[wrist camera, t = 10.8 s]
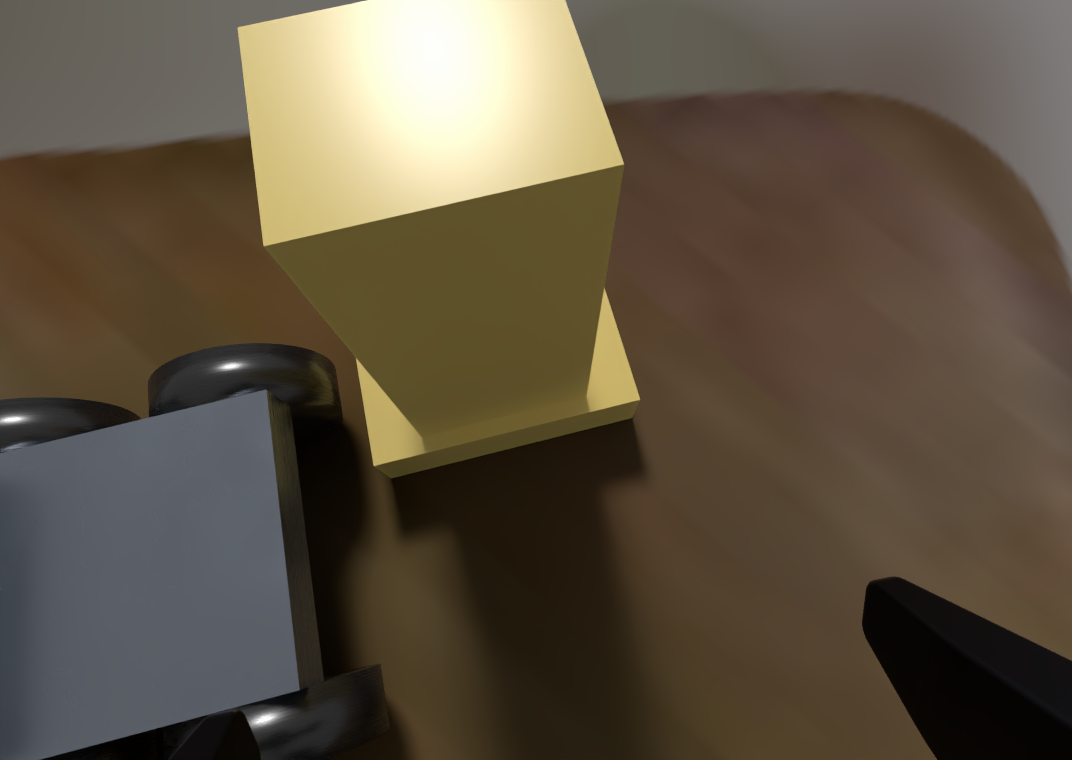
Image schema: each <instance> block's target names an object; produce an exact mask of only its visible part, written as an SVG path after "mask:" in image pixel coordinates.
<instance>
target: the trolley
mask: <svg viewBox="0 0 1072 760" xmlns="http://www.w3.org/2000/svg"><path fill="white" fill-rule="evenodd" d="M148 401H149V418H145V419H141V418H140V417H139V416H137V415H136V414H135V413H133V412H131V411H129V410H127V409H124V408H121V407H118V406H115V405H111V404H106V403H102V402H96V401H89V400H81V399H70V398H17V399H4V400H0V760H157V752H156V728H160V727H163V747H164V760H169V758H170V757H171V756H172V755H173V754H174V753H175V752H176V750H177V749H178V748H179V747H180V746H181V745H182V744H183V742H184V741H185V740H186V739H187V738H188V737H189V735H190V734H191V733H192V732H193V731H194V730H195V729H196V727H197V726H198V725H199V724H200V723H201V722H202V721H203V720H204V719H205V718H206V717H207V716H209V715H211V714H213V713H218V712H223V711H228V710H233V709H239V710H241V711H242V712H243V713H244V714H245V716H246V718H247V721H248V723H249V725H250V727H251V730H252V732H253V734H254V737H255V739H256V741H257V743H258V746H259V749H260V753H261V760H325V759H328V758H330V757H333V756H335V755H338V754H340V753H343V752H345V751H348V750H350V749H353V748H355V747H357V746H360V745H362V744H364V743H366V742H368V741H370V740H372V739H374V738H376V737H378V736H380V735H381V734H383V733H385V732H386V731H387V730H388V729H389V728H390V724H389V717H388V711H387V704H386V697H385V691H384V684H383V678H382V671H381V664H376V665H371V666H367V667H362V668H358V669H354V670H350V671H346V672H342V673H338V674H334V675H331V676H327V677H324V676H323V668H322V660H321V652H320V644H319V636H318V628H317V620H316V611H315V603H314V595H313V587H312V579H311V571H310V563H309V554H308V546H307V538H306V530H305V522H304V514H303V506H302V498H301V489H300V481H299V473H298V465H297V457H296V449H295V447H297V446H300V445H303V444H306V443H309V442H312V441H314V440H317V439H319V438H321V437H323V436H325V435H327V434H329V433H330V432H332V431H333V430H334V429H336V428H337V427H338V426H339V424H340V423H341V421H342V419H343V414H342V407H341V401H340V394H339V388H338V381H337V375H336V369H335V366H334V364H333V363H332V362H331V361H330V360H329V359H328V358H327V357H325V356H323V355H321V354H319V353H317V352H315V351H312V350H308V349H305V348H301V347H296V346H290V345H282V344H266V343H252V344H236V345H226V346H220V347H213V348H209V349H204V350H200V351H196V352H192V353H189V354H186V355H183V356H180V357H178V358H176V359H173V360H171V361H169V362H167V363H165V364H164V365H162V366H161V367H159V368H158V369H157V370H155V372H154V373H153V374H152V375H151V376H150V378H149V380H148Z"/></svg>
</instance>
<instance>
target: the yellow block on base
mask: <svg viewBox="0 0 1072 760" xmlns="http://www.w3.org/2000/svg"><path fill="white" fill-rule="evenodd" d="M238 34H239V42H240V50H241V59H242V68H243V76H244V85H245V93H246V101H247V110H248V118H249V127H250V135H251V144H252V152H253V160H254V169H255V177H256V186H257V194H258V203H259V211H260V219H261V228H262V236H263V245H264V247H265V248H266V250H267V251H268V252H269V253H270V254H271V256H272V257H273V258H274V259H275V261H276V262H277V263H278V264H279V265H280V267H281V268H282V269H283V270H284V271H285V273H286V274H287V275H288V276H289V277H290V279H291V280H292V281H293V282H294V283H295V285H296V286H297V287H298V288H299V290H300V291H301V292H302V293H303V294H304V296H305V297H306V298H307V299H308V300H309V302H310V303H311V304H312V305H313V306H314V308H315V309H316V310H317V311H318V313H319V314H320V315H321V316H322V317H323V319H324V320H325V321H326V322H327V323H328V325H329V326H330V327H331V328H332V329H333V331H334V332H335V333H336V334H337V335H338V337H339V338H340V339H341V340H342V342H343V343H344V344H345V345H346V346H347V348H348V349H349V350H350V351H351V352H352V354H353V355H354V356H355V357H356V361H357V367H358V373H359V379H360V385H361V392H362V398H363V404H364V410H365V416H366V422H367V428H368V434H369V440H370V446H371V452H372V458H373V465H374V467H376V468H377V469H378V470H380V471H381V472H383V473H384V474H385V475H387V476H388V477H389V478H395V477H399V476H403V475H407V474H411V473H415V472H419V471H423V470H427V469H431V468H435V467H439V466H443V465H447V464H451V463H455V462H459V461H463V460H467V459H471V458H475V457H479V456H483V455H487V454H491V453H495V452H499V451H503V450H507V449H511V448H515V447H519V446H523V445H527V444H531V443H535V442H539V441H543V440H547V439H551V438H555V437H559V436H563V435H567V434H571V433H575V432H579V431H583V430H586V429H590V428H594V427H598V426H602V425H606V424H610V423H614V422H618V421H622V420H626V419H630V418H632V417H633V415H634V413H635V411H636V408H637V406H638V404H639V401H640V397H639V394H638V391H637V388H636V385H635V382H634V379H633V376H632V372H631V369H630V366H629V363H628V360H627V357H626V354H625V351H624V348H623V344H622V341H621V338H620V335H619V332H618V329H617V326H616V323H615V320H614V316H613V313H612V310H611V307H610V304H609V301H608V298H607V295H606V291H605V288H604V286H605V280H606V274H607V267H608V261H609V255H610V249H611V243H612V236H613V230H614V224H615V218H616V212H617V205H618V199H619V193H620V187H621V181H622V175H623V168H624V162H623V160H622V157H621V154H620V151H619V149H618V146H617V143H616V140H615V137H614V135H613V132H612V129H611V126H610V124H609V121H608V118H607V115H606V112H605V110H604V107H603V104H602V101H601V99H600V96H599V93H598V90H597V87H596V85H595V82H594V79H593V76H592V74H591V71H590V68H589V65H588V62H587V60H586V57H585V54H584V51H583V49H582V46H581V43H580V40H579V38H578V35H577V32H576V29H575V26H574V23H573V21H572V18H571V15H570V13H569V10H568V7H567V4H566V2H565V0H368V1H363V2H358V3H353V4H349V5H343V6H339V7H334V8H329V9H324V10H319V11H314V12H310V13H305V14H300V15H295V16H290V17H286V18H281V19H276V20H271V21H267V22H261V23H257V24H252V25H247V26H242V27H238Z"/></svg>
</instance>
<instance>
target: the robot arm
mask: <svg viewBox="0 0 1072 760" xmlns="http://www.w3.org/2000/svg"><path fill="white" fill-rule="evenodd" d="M862 626H863V631H864V634H865V637H866V639H867V641H868V643H869V645H870V646H871V648H872V650H873V652H874V653H875V655H876V657H877V659H878V661H879V662H880V664H881V666H882V668H883V669H884V671H885V673H886V675H887V676H888V678H889V680H890V682H891V683H892V685H893V687H894V689H895V690H896V692H897V694H898V696H899V697H900V699H901V701H902V703H903V704H904V706H905V708H906V710H907V711H908V713H909V715H910V717H911V718H912V720H913V722H914V724H915V725H916V727H917V729H918V730H919V732H920V734H921V735H922V737H923V739H924V740H925V742H926V743H927V745H928V746H929V748H930V749H931V751H932V752H933V754H934V755H935V757H936V758H937V760H1072V661H1071V660H1069V659H1067V658H1065V657H1063V656H1061V655H1059V654H1057V653H1054V652H1052V651H1050V650H1048V649H1046V648H1044V647H1042V646H1040V645H1038V644H1036V643H1034V642H1032V641H1030V640H1028V639H1026V638H1024V637H1022V636H1020V635H1018V634H1015V633H1013V632H1011V631H1009V630H1007V629H1005V628H1003V627H1001V626H999V625H997V624H995V623H993V622H991V621H989V620H987V619H985V618H983V617H981V616H978V615H976V614H974V613H972V612H970V611H968V610H966V609H964V608H962V607H960V606H958V605H956V604H954V603H952V602H950V601H948V600H946V599H944V598H941V597H939V596H937V595H935V594H933V593H931V592H929V591H927V590H925V589H923V588H921V587H919V586H917V585H915V584H913V583H911V582H909V581H907V580H904V579H902V578H900V577H887V578H882V579H877V580H873V581H871V582H869V584H868V585H867V588H866V594H865V602H864V610H863V618H862ZM169 760H261V753H260V749H259V746H258V743H257V741H256V739H255V737H254V734H253V732H252V730H251V727H250V725H249V723H248V721H247V718H246V716H245V714H244V713H243V712H242V711H241V710H239V709H233V710H228V711H223V712H218V713H213V714H211V715H209V716H207V717H206V718H205V719H204V720H203V721H202V722H201V723H200V724H199V725H198V726H197V727H196V729H195V730H194V731H193V732H192V733H191V734H190V735H189V737H188V738H187V739H186V740H185V741H184V742H183V744H182V745H181V746H180V747H179V748H178V749H177V750H176V752H175V753H174V754H173V755H172V756H171V757H170V758H169Z"/></svg>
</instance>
